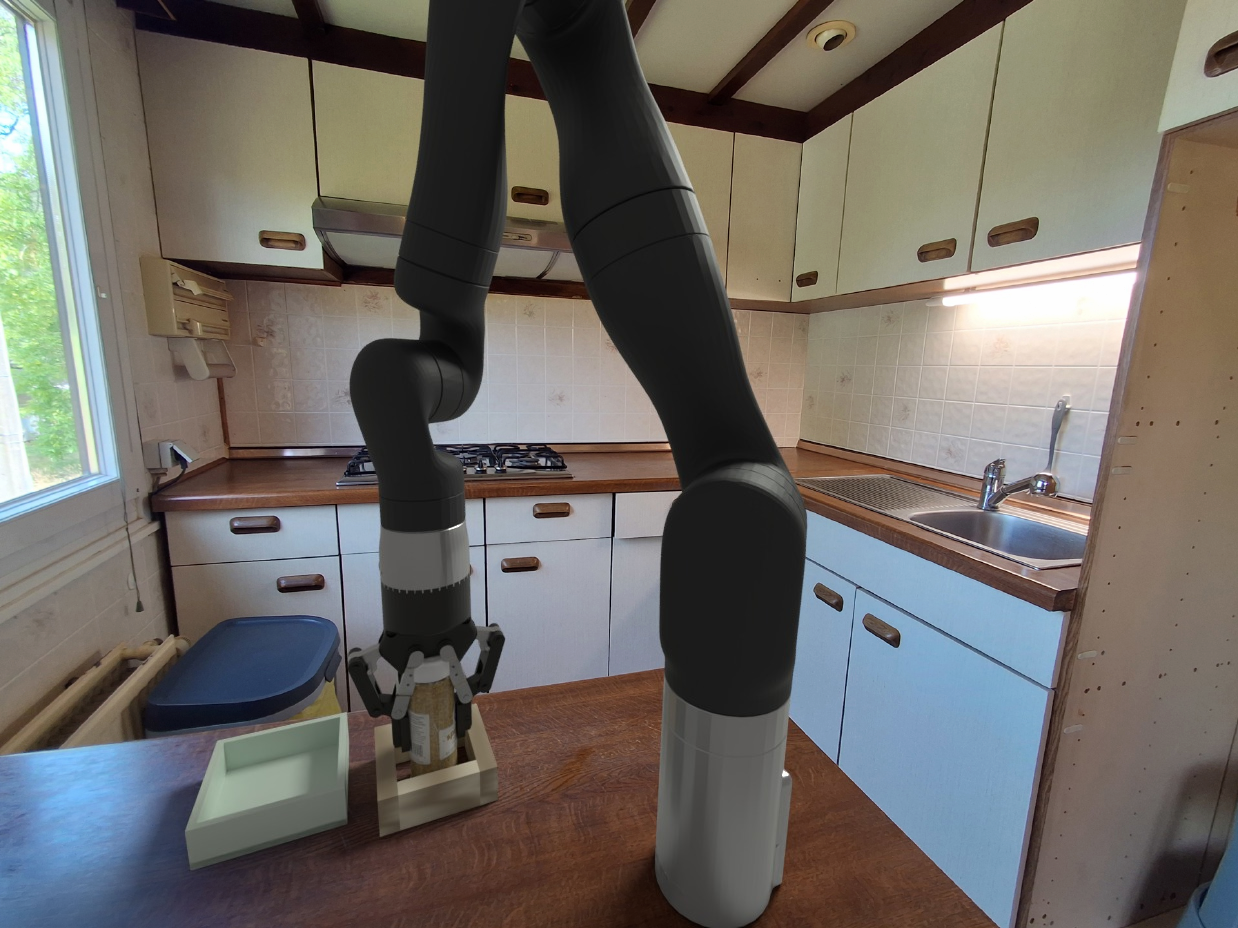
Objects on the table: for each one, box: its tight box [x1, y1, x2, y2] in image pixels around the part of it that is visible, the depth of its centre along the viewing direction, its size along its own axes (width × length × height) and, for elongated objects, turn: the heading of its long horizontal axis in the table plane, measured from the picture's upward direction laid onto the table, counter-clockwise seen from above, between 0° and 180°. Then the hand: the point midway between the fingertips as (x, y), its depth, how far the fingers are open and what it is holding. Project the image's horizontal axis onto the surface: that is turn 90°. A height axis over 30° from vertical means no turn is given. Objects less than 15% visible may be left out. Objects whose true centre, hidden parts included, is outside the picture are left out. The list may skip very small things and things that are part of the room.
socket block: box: [373, 703, 499, 838], centre depth 52 cm, size 10×10×4 cm
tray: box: [184, 711, 350, 872], centre depth 50 cm, size 11×11×4 cm
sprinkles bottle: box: [407, 655, 459, 779], centre depth 51 cm, size 5×5×13 cm
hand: (433, 738), depth 52 cm, fingers closed on sprinkles bottle, 4 cm apart
